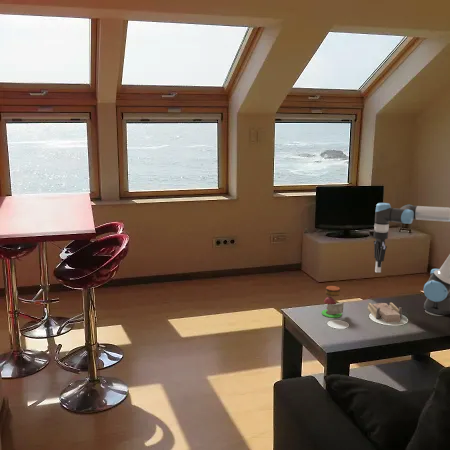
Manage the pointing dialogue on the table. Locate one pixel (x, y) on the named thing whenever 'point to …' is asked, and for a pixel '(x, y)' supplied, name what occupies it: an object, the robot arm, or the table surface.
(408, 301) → the table surface
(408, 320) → the table surface
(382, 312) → the brick
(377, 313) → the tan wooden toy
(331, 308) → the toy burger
